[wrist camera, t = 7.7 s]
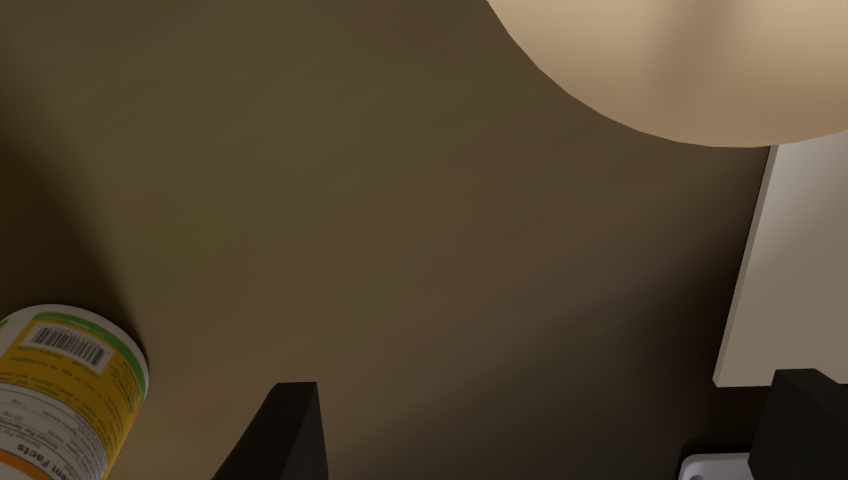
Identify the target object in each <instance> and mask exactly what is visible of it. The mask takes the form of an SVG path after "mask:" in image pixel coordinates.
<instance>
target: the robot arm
mask: <svg viewBox="0 0 848 480" xmlns="http://www.w3.org/2000/svg"><path fill="white" fill-rule="evenodd" d="M211 480H328V466H327V458H326V450H325V443H324V435H323V427H322V420H321V412H320V404H319V396H318V389H317V382H291V383H277V384H276V385H275V386H274V387H273V388H272V389H271V390H270V392H269V394H268V395H267V397H266V399H265V400H264V402H263V404H262V405H261V407H260V409H259V410H258V412H257V413H256V415H255V417H254V418H253V420H252V421H251V423H250V424H249V426H248V427H247V429H246V431H245V432H244V434H243V435H242V437H241V438H240V440H239V441H238V442H237V444H236V445H235V447H234V448H233V450H232V451H231V453H230V454H229V456H228V457H227V458H226V460H225V461H224V463H223V464H222V465H221V467H220V468H219V470H218V471H217V472H216V474H215V475H214V477H213V478H212V479H211ZM678 480H848V390H847V389H846V388H844V387H843V386H841V385H840V384H839V383H837V382H835V381H834V380H832V379H831V378H829V377H828V376H826V375H825V374H823V373H821V372H820V371H818V370H817V369H815V368H805V369H776V370H775V373H774V377H773V380H772V383H771V386H770V389H769V393H768V396H767V399H766V402H765V406H764V409H763V412H762V415H761V419H760V422H759V425H758V428H757V432H756V435H755V438H754V441H753V445H752V448H751V451H750V453H723V454H695V455H691V456H689V457H687V458H686V459H685V460H684V461H683V463H682V466H681V471H680V475H679V479H678Z"/></svg>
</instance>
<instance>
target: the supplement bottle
mask: <svg viewBox="0 0 848 480" xmlns="http://www.w3.org/2000/svg"><path fill="white" fill-rule="evenodd" d="M148 385H149V374H148V368H147V364H146V361H145V359H144V356H143V354H142V353H141V351H140V349H139V348H138V346H137V345H136V343H135V342H134V341H133V340H132V339H131V338H130V337H129V336H128V335H127V334H126V333H125V332H124V331H123V330H122V329H120V328H119V327H118V326H116V325H115V324H113V323H112V322H110V321H109V320H107V319H106V318H104V317H102V316H100V315H98V314H95V313H93V312H91V311H88V310H85V309H82V308H78V307H74V306H68V305H60V304H44V305H37V306H32V307H27V308H24V309H21V310H19V311H16V312H14V313H12V314H10V315H9V316H7V317H6V318H4V319H3V320H2V321H1V322H0V480H106V478H107V476H108V474H109V472H110V470H111V468H112V465H113V463H114V461H115V459H116V457H117V455H118V453H119V451H120V449H121V447H122V445H123V443H124V441H125V439H126V437H127V435H128V433H129V431H130V429H131V427H132V425H133V423H134V421H135V419H136V417H137V415H138V413H139V411H140V408H141V406H142V404H143V402H144V399H145V397H146V394H147V390H148Z"/></svg>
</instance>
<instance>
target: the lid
mask: <svg viewBox="0 0 848 480" xmlns="http://www.w3.org/2000/svg"><path fill="white" fill-rule="evenodd" d="M487 1H488V2H489V4H490V5H491V7H492V8H493V10H494V11H495V13H496V15H497V16H498V18H499V19H500V21H501V22H502V24H503V25H504V27H505V28H506V30H507V31H508V33H509V34H510V36H511V37H512V38H513V39H514V40H515V41H516V43H517V44H518V45H519V46H520V47H521V48H522V49H523V51H524V52H525V53H526V54H527V55H528V56H529V57H530V59H531V60H532V61H533V62H534V63H535V64H536V65H537V67H538V68H539V69H541V70H542V71H543V72H544V73H545V74H546V75H548V76H549V77H550V78H551V79H552V80H553V81H555V82H556V83H557V84H558V85H559V86H560V87H562V88H563V89H564V90H565V91H566V92H567V93H569V94H570V95H572V96H573V97H575V98H576V99H578V100H580V101H581V102H583V103H584V104H586V105H588V106H589V107H591V108H592V109H594V110H595V111H597V112H599V113H600V114H602V115H604V116H606V117H608V118H611V119H613V120H615V121H617V122H620V123H622V124H624V125H626V126H629V127H631V128H633V129H635V130H637V131H641V132H644V133H648V134H651V135H655V136H658V137H662V138H665V139H669V140H672V141H677V142H684V143H691V144H698V145H705V146H712V147H761V146H770V145H780V144H789V143H796V142H801V141H805V140H810V139H814V138H819V137H823V136H828V135H832V134H836V133H839V132H842V131H845V130H848V0H487Z"/></svg>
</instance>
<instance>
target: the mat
mask: <svg viewBox="0 0 848 480" xmlns="http://www.w3.org/2000/svg"><path fill="white" fill-rule="evenodd" d="M805 368H815V369H817V370H818V371H820V372H821V373H823V374H825V375H826V376H828V377H829V378H831V379H832V380H834V381H835V382H837V383H839V384H848V130H845V131H842V132H839V133H836V134H832V135H828V136H823V137H819V138H814V139H810V140H805V141H801V142H796V143H789V144H780V145H771V148H770V152H769V156H768V160H767V164H766V168H765V172H764V176H763V180H762V184H761V188H760V192H759V196H758V200H757V204H756V208H755V212H754V216H753V220H752V224H751V228H750V232H749V236H748V240H747V244H746V248H745V252H744V256H743V260H742V264H741V268H740V272H739V276H738V280H737V284H736V288H735V292H734V296H733V300H732V304H731V308H730V312H729V316H728V320H727V324H726V328H725V331H724V335H723V339H722V343H721V347H720V351H719V355H718V359H717V363H716V367H715V371H714V375H713V379H712V380H713V381H714V383H715V385H716V386H717V387H738V386H771V383H772V380H773V377H774V373H775V370H776V369H805Z"/></svg>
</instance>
